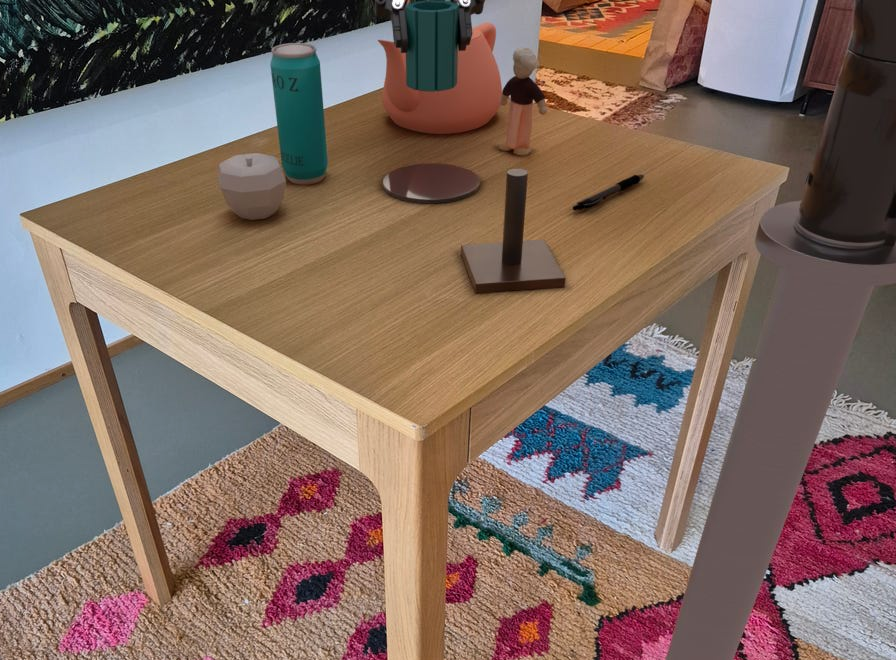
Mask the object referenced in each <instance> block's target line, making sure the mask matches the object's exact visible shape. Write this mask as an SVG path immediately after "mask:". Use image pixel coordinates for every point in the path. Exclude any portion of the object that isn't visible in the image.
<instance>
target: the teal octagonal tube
mask: <svg viewBox="0 0 896 660" xmlns="http://www.w3.org/2000/svg"><path fill="white" fill-rule="evenodd" d="M405 13H406V23H407V34H408V50H407V53H406V85H407V87H409V88H412V89H414V90H419V91H429V92H435V90H436V91H443V90H449V89H452V88H454V87H455V86H456V84H457V69H458V18H459V5H458V4H456V3H453V2H450V1H445V0H418V1H410V2H409V4H408V5H406V6H405Z"/></svg>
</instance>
